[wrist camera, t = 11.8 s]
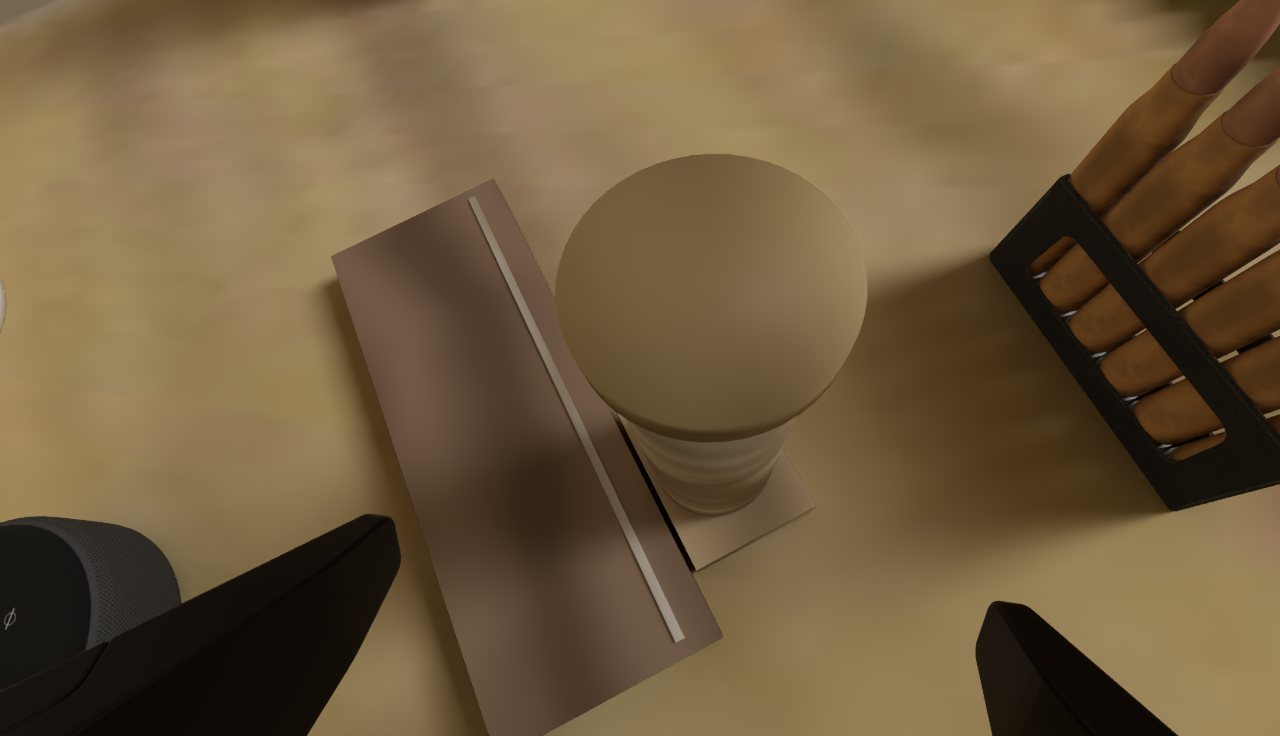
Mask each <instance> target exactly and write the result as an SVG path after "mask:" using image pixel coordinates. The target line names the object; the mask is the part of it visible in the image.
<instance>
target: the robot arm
mask: <svg viewBox="0 0 1280 736" xmlns="http://www.w3.org/2000/svg"><path fill="white" fill-rule="evenodd" d="M400 562H401V553H400V548H399V543H398V538H397V533H396V528H395V524H394V521H393V520H392V518H390V517H388V516H383V515H376V514H365V515H362V516H360V517H358V518H356V519H354V520H352V521H350V522H348V523H346V524H344V525H342V526H340V527H338V528H336V529H334V530H332V531H329V532H327V533H325V534H323V535H321V536H319V537H317V538H315V539H313V540H311V541H309V542H307V543H305V544H303V545H301V546H299V547H297V548H295V549H293V550H291V551H289V552H287V553H284V554H282V555H280V556H278V557H276V558H274V559H272V560H270V561H268V562H266V563H264V564H262V565H260V566H258V567H256V568H254V569H252V570H250V571H248V572H246V573H244V574H241V575H239V576H237V577H235V578H233V579H231V580H229V581H227V582H225V583H223V584H221V585H219V586H217V587H215V588H213V589H211V590H209V591H207V592H205V593H203V594H201V595H198V596H196V597H194V598H192V599H190V600H188V601H186V602H184V603H182V604H180V605H178V606H176V607H174V608H172V609H170V610H168V611H166V612H164V613H162V614H160V615H158V616H155V617H153V618H151V619H149V620H147V621H145V622H143V623H141V624H139V625H137V626H135V627H133V628H131V629H129V630H127V631H125V632H123V633H121V634H119V635H117V636H115V637H113V638H112V639H111V640H110V642H108V641H104V642H102V643H100V644H98V645H96V646H94V647H92V648H90V649H88V650H86V651H84V652H82V653H80V654H78V655H76V656H74V657H72V658H69V659H67V660H65V661H63V662H61V663H59V664H57V665H55V666H53V667H50V668H48V669H46V670H44V671H42V672H40V673H38V674H36V675H34V676H31V677H29V678H27V679H25V680H23V681H21V682H19V683H16V684H14V685H12V686H10V687H7V688H5V689H3V690H1V691H0V736H307V735H308V733H309V732H310V730H311V728H312V727H313V725H314V723H315V722H316V720H317V719H318V717H319V715H320V714H321V712H322V711H323V709H324V707H325V706H326V704H327V702H328V701H329V699H330V698H331V696H332V694H333V693H334V691H335V690H336V688H337V686H338V685H339V683H340V682H341V680H342V678H343V677H344V675H345V673H346V672H347V670H348V668H349V667H350V665H351V663H352V662H353V660H354V658H355V656H356V654H357V653H358V651H359V649H360V647H361V645H362V643H363V641H364V639H365V637H366V635H367V633H368V631H369V629H370V627H371V625H372V623H373V621H374V619H375V617H376V615H377V613H378V611H379V609H380V607H381V605H382V603H383V601H384V599H385V597H386V595H387V593H388V591H389V589H390V587H391V585H392V582H393V580H394V578H395V576H396V574H397V572H398V570H399V567H400ZM976 662H977V666H978V671H979V676H980V680H981V685H982V690H983V694H984V699H985V704H986V708H987V713H988V718H989V722H990V727H991V731H992V736H1178V735H1177V734H1176V733H1175V732H1173V731H1172V730H1171V729H1170V728H1169V727H1168V726H1166V725H1165V724H1164V723H1163V722H1162V721H1161V720H1159V719H1158V718H1157V717H1156V716H1155V715H1154V714H1153V713H1151V712H1150V711H1149V710H1148V709H1147V708H1146V707H1144V706H1143V705H1142V704H1141V703H1140V702H1139V701H1137V700H1136V699H1135V698H1134V697H1133V696H1132V695H1131V694H1129V693H1128V692H1127V691H1126V690H1125V689H1124V688H1122V687H1121V686H1120V685H1119V684H1118V683H1117V682H1115V681H1114V680H1113V679H1112V678H1111V677H1110V676H1109V675H1107V674H1106V673H1105V672H1104V671H1103V670H1102V669H1100V668H1099V667H1098V666H1097V665H1096V664H1095V663H1093V662H1092V661H1091V660H1090V659H1089V658H1088V657H1087V656H1085V655H1084V654H1083V653H1082V652H1081V651H1080V650H1078V649H1077V648H1076V647H1075V646H1074V645H1073V644H1071V643H1070V642H1069V641H1068V640H1067V639H1066V638H1065V637H1063V636H1062V635H1061V634H1060V633H1059V632H1058V631H1056V630H1055V629H1054V628H1053V627H1052V626H1051V625H1049V624H1048V623H1047V622H1046V621H1045V620H1044V619H1042V618H1041V617H1040V616H1039V615H1038V614H1037V613H1036V612H1034V611H1033V610H1032V609H1031V608H1029V607H1028V606H1026V605H1023V604H1018V603H1011V602H1003V601H994V602H992V603H991V604H990V606H989V608H988V610H987V613H986V616H985V619H984V622H983V624H982V627H981V630H980V633H979V636H978V639H977V642H976Z"/></svg>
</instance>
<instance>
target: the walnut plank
mask: <svg viewBox="0 0 1280 736" xmlns="http://www.w3.org/2000/svg"><path fill="white" fill-rule="evenodd" d="M331 258H332V261H333V264H334V267H335V270H336V273H337V276H338V279H339V282H340V285H341V288H342V291H343V294H344V298H345V301H346V304H347V307H348V310H349V313H350V316H351V319H352V322H353V325H354V328H355V331H356V334H357V337H358V340H359V343H360V346H361V349H362V352H363V355H364V358H365V361H366V364H367V367H368V370H369V373H370V376H371V379H372V382H373V385H374V388H375V391H376V395H377V398H378V401H379V404H380V407H381V410H382V413H383V416H384V419H385V422H386V425H387V428H388V431H389V434H390V437H391V440H392V443H393V446H394V449H395V452H396V455H397V458H398V461H399V464H400V467H401V470H402V473H403V476H404V479H405V482H406V485H407V489H408V492H409V495H410V498H411V501H412V504H413V507H414V510H415V513H416V516H417V519H418V522H419V525H420V528H421V531H422V534H423V537H424V540H425V543H426V546H427V549H428V552H429V555H430V558H431V561H432V564H433V567H434V570H435V573H436V576H437V579H438V583H439V586H440V589H441V592H442V595H443V598H444V601H445V604H446V607H447V610H448V613H449V616H450V619H451V622H452V625H453V628H454V631H455V634H456V637H457V640H458V643H459V646H460V649H461V652H462V655H463V658H464V661H465V664H466V667H467V670H468V673H469V676H470V680H471V683H472V686H473V689H474V692H475V695H476V698H477V701H478V704H479V707H480V710H481V713H482V716H483V719H484V722H485V725H486V728H487V731H488V734H489V736H543V735H544V734H546V733H548V732H550V731H552V730H554V729H555V728H557V727H559V726H561V725H563V724H565V723H566V722H568V721H570V720H572V719H574V718H576V717H578V716H579V715H581V714H583V713H585V712H587V711H589V710H590V709H592V708H594V707H596V706H598V705H600V704H601V703H603V702H605V701H607V700H609V699H611V698H612V697H614V696H616V695H618V694H620V693H622V692H623V691H625V690H627V689H629V688H631V687H633V686H635V685H636V684H638V683H640V682H642V681H644V680H646V679H647V678H649V677H651V676H653V675H655V674H657V673H658V672H660V671H662V670H664V669H666V668H668V667H669V666H671V665H673V664H675V663H677V662H679V661H680V660H682V659H684V658H686V657H688V656H690V655H692V654H693V653H695V652H697V651H699V650H701V649H703V648H704V647H706V646H708V645H710V644H712V643H714V642H715V641H717V640H719V639H721V638H723V635H722V632H721V630H720V628H719V626H718V624H717V622H716V620H715V618H714V616H713V614H712V612H711V610H710V608H709V606H708V604H707V602H706V600H705V598H704V596H703V594H702V592H701V590H700V588H699V586H698V584H697V582H696V580H695V578H694V576H693V574H692V572H691V570H690V568H689V566H688V564H687V562H686V560H685V558H684V556H683V554H682V552H681V550H680V548H679V546H678V544H677V542H676V540H675V538H674V536H673V534H672V532H671V530H670V528H669V526H668V524H667V522H666V520H665V518H664V516H663V514H662V512H661V510H660V508H659V506H658V504H657V502H656V500H655V498H654V496H653V494H652V492H651V490H650V488H649V486H648V484H647V482H646V480H645V478H644V476H643V474H642V472H641V470H640V468H639V466H638V464H637V462H636V460H635V458H634V456H633V454H632V452H631V450H630V448H629V446H628V444H627V442H626V440H625V438H624V436H623V434H622V432H621V430H620V428H619V426H618V424H617V422H616V420H615V418H614V416H613V414H612V412H611V410H610V408H609V406H608V404H607V403H605V402H604V401H603V400H602V399H601V398H600V397H599V396H598V394H597V393H596V392H595V391H594V389H593V388H592V387H591V386H590V384H589V383H588V381H587V380H586V378H585V376H584V375H583V373H582V371H581V370H580V368H579V366H578V365H577V363H576V361H575V360H574V358H573V356H572V355H571V353H570V351H569V349H568V347H567V345H566V342H565V340H564V337H563V335H562V333H561V329H560V325H559V321H558V317H557V310H556V300H555V298H554V296H553V294H552V292H551V290H550V288H549V286H548V284H547V282H546V280H545V278H544V276H543V274H542V272H541V270H540V268H539V266H538V264H537V262H536V260H535V258H534V256H533V254H532V252H531V250H530V248H529V246H528V244H527V242H526V240H525V238H524V236H523V234H522V232H521V230H520V228H519V226H518V224H517V222H516V220H515V218H514V216H513V214H512V212H511V210H510V208H509V206H508V204H507V202H506V200H505V199H504V197H503V195H502V193H501V191H500V189H499V187H498V185H497V184H496V182H495V180H494V179H491V180H489V181H487V182H485V183H483V184H481V185H479V186H477V187H475V188H473V189H471V190H469V191H466V192H464V193H462V194H460V195H458V196H456V197H454V198H452V199H450V200H448V201H446V202H443V203H441V204H439V205H437V206H435V207H433V208H431V209H429V210H427V211H425V212H423V213H420V214H418V215H416V216H414V217H412V218H410V219H408V220H406V221H404V222H402V223H400V224H398V225H395V226H393V227H391V228H389V229H387V230H385V231H383V232H381V233H379V234H377V235H375V236H372V237H370V238H368V239H366V240H364V241H362V242H360V243H358V244H356V245H354V246H352V247H349V248H347V249H345V250H343V251H341V252H339V253H337V254H335V255H333V256H331Z"/></svg>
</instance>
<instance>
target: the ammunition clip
mask: <svg viewBox="0 0 1280 736" xmlns="http://www.w3.org/2000/svg"><path fill="white" fill-rule="evenodd" d="M1279 24H1280V0H1240V1H1239V2H1238V3H1237V4H1235V5H1234V6H1233V7H1232V8H1231V9H1230V10H1229V11H1227V12H1226V13H1225V14H1224V15H1223V16H1222V17H1221V18H1220V19H1219V20H1218V21H1217V22H1216V23H1214V24H1213V25H1212V26H1211V27H1210V28H1209V29H1208V30H1207V31H1206V32H1205V33H1204V34H1203V35H1202V36H1201V37H1200V38H1199V39H1198V40H1197V41H1196V43H1195V44H1194V45H1193V46H1192V47H1191V48H1190V49H1189V50H1188V51H1187V53H1186V54H1185V55H1184V56H1183V57H1182V58H1181V59H1180V60H1179V62H1177V63H1176V64H1174V65H1173V66H1172V67H1171V68H1170V69H1169V70H1168V72H1167V73H1166V74H1165V75H1164V76H1163V77H1162V78H1161V79H1160V80H1159V81H1158V82H1157V83H1156V84H1155V85H1154V86H1153V87H1152V88H1151V89H1150V90H1149V91H1147V92H1146V93H1145V94H1144V95H1142V96H1141V97H1140V98H1139V99H1137V100H1136V101H1135V102H1134V103H1133V104H1131V105H1130V106H1129V107H1128V108H1127V109H1126V110H1125V111H1124V113H1123V114H1122V115H1121V116H1120V117H1119V118H1118V120H1117V121H1116V122H1115V123H1114V124H1113V125H1112V127H1111V128H1110V129H1109V130H1108V131H1107V132H1106V134H1105V135H1104V136H1103V137H1102V138H1101V139H1100V141H1099V142H1098V143H1097V144H1096V145H1095V146H1094V148H1093V149H1092V150H1091V151H1090V152H1089V154H1088V155H1087V156H1086V157H1085V158H1084V159H1083V161H1082V162H1081V163H1080V164H1079V165H1078V166H1077V168H1076V169H1075V170H1074V171H1073V172H1072V173H1071V175H1070V174H1067V175H1064V176H1062V177H1060V178H1059V179H1058V180H1057V181H1056V182H1055V184H1054V185H1053V186H1052V187H1051V188H1050V189H1049V190H1048V191H1047V192H1046V193H1045V195H1044V196H1043V197H1042V198H1041V199H1040V200H1039V201H1038V202H1037V203H1036V204H1035V205H1034V206H1033V208H1032V209H1031V210H1030V211H1029V212H1028V213H1027V214H1026V215H1025V216H1024V217H1023V218H1022V219H1021V221H1020V222H1019V223H1018V224H1017V225H1016V226H1015V227H1014V228H1013V229H1012V230H1011V231H1010V232H1009V233H1008V235H1007V236H1006V237H1005V238H1004V239H1003V240H1002V241H1001V242H1000V243H999V244H998V245H997V246H996V248H995V249H994V250H993V251H992V252H991V253H990V261H991V262H992V264H993V265H994V266H995V268H996V269H997V270H998V272H999V273H1000V275H1001V276H1002V277H1003V279H1004V280H1005V282H1006V283H1007V284H1008V286H1009V287H1010V289H1011V290H1012V291H1013V293H1014V294H1015V296H1016V297H1017V298H1018V300H1019V301H1020V302H1021V304H1022V305H1023V307H1024V308H1025V309H1026V311H1027V312H1028V314H1029V315H1030V316H1031V318H1032V319H1033V321H1034V322H1035V323H1036V325H1037V326H1038V328H1039V329H1040V330H1041V332H1042V333H1043V334H1044V336H1045V337H1046V339H1047V340H1048V341H1049V343H1050V344H1051V346H1052V347H1053V348H1054V350H1055V351H1056V353H1057V354H1058V355H1059V357H1060V358H1061V360H1062V361H1063V362H1064V364H1065V365H1066V366H1067V368H1068V369H1069V371H1070V372H1071V373H1072V375H1073V376H1074V378H1075V379H1076V380H1077V382H1078V383H1079V385H1080V386H1081V387H1082V389H1083V390H1084V391H1085V393H1086V394H1087V396H1088V397H1089V398H1090V400H1091V401H1092V403H1093V404H1094V405H1095V407H1096V408H1097V410H1098V411H1099V412H1100V414H1101V415H1102V417H1103V418H1104V419H1105V421H1106V422H1107V423H1108V425H1109V426H1110V428H1111V429H1112V430H1113V432H1114V433H1115V435H1116V436H1117V437H1118V439H1119V440H1120V442H1121V443H1122V444H1123V446H1124V447H1125V449H1126V450H1127V451H1128V453H1129V454H1130V455H1131V457H1132V458H1133V460H1134V461H1135V462H1136V464H1137V465H1138V467H1139V468H1140V469H1141V471H1142V472H1143V474H1144V475H1145V476H1146V478H1147V479H1148V481H1149V482H1150V483H1151V485H1152V486H1153V487H1154V489H1155V490H1156V492H1157V493H1158V494H1159V496H1160V497H1161V499H1162V500H1163V501H1164V503H1165V504H1166V506H1167V507H1168V508H1169V510H1173V511H1179V510H1183V509H1186V508H1190V507H1194V506H1198V505H1202V504H1206V503H1209V502H1213V501H1217V500H1221V499H1225V498H1229V497H1232V496H1236V495H1240V494H1244V493H1248V492H1252V491H1255V490H1259V489H1263V488H1267V487H1271V486H1274V485H1278V484H1280V415H1276V416H1273V417H1270V418H1267V419H1266V417H1265V416H1264V414H1267V413H1270V412H1273V411H1276V410H1279V409H1280V336H1278V337H1276V338H1275V337H1274V336H1273V335H1272V334H1271V333H1273V332H1275V331H1277V330H1279V329H1280V250H1279V251H1277V252H1275V253H1273V254H1271V255H1270V256H1268V257H1266V258H1265V259H1263V260H1261V261H1260V262H1258V263H1256V264H1255V265H1253V266H1251V267H1250V268H1248V269H1246V270H1245V271H1243V272H1241V273H1240V274H1238V275H1237V276H1235V277H1233V278H1232V279H1230V280H1228V281H1227V282H1225V281H1224V280H1223V279H1224V278H1226V277H1227V276H1229V275H1230V274H1232V273H1233V272H1235V271H1237V270H1238V269H1240V268H1241V267H1243V266H1244V265H1246V264H1248V263H1249V262H1251V261H1252V260H1254V259H1256V258H1257V257H1259V256H1260V255H1262V254H1263V253H1265V252H1267V251H1268V250H1270V249H1271V248H1273V247H1274V246H1276V245H1277V244H1279V243H1280V165H1279V166H1277V167H1276V168H1274V169H1273V170H1272V171H1270V172H1269V173H1267V174H1266V175H1264V176H1263V177H1262V178H1260V179H1259V180H1257V181H1256V182H1254V183H1252V184H1250V185H1248V186H1246V187H1244V188H1242V189H1240V190H1238V191H1236V192H1235V193H1233V194H1231V195H1229V196H1227V197H1226V198H1224V199H1223V200H1221V201H1220V202H1218V203H1217V204H1215V205H1214V206H1212V207H1211V208H1210V209H1209V210H1207V211H1206V212H1205V213H1203V214H1202V215H1201V216H1199V217H1198V218H1197V219H1196V220H1194V221H1193V222H1192V223H1190V224H1189V225H1188V226H1187V227H1185V228H1184V229H1183V230H1181V231H1179V230H1180V229H1181V228H1182V227H1184V226H1185V225H1186V224H1187V223H1189V222H1190V221H1191V220H1192V219H1194V218H1195V217H1196V216H1197V215H1199V214H1200V213H1201V212H1202V211H1204V210H1205V209H1206V208H1207V207H1209V206H1210V205H1211V204H1212V203H1214V202H1215V201H1216V200H1217V199H1219V198H1220V197H1221V196H1222V195H1224V194H1225V193H1226V192H1227V191H1228V190H1229V189H1231V188H1232V187H1233V186H1234V185H1235V183H1236V182H1237V181H1238V180H1239V179H1240V178H1241V176H1242V175H1243V174H1244V173H1245V171H1246V170H1247V169H1248V168H1249V167H1250V165H1251V164H1252V163H1253V162H1254V161H1255V160H1257V159H1258V158H1259V157H1260V156H1261V155H1262V154H1263V153H1265V152H1266V151H1267V150H1268V149H1269V148H1270V147H1271V146H1273V145H1274V144H1275V143H1276V142H1277V141H1278V139H1279V138H1280V67H1279V68H1278V69H1276V70H1275V71H1274V72H1272V73H1271V74H1270V75H1269V76H1267V77H1266V78H1265V79H1263V80H1262V81H1261V82H1260V83H1258V84H1257V85H1256V86H1255V87H1254V88H1252V89H1251V90H1250V91H1249V92H1248V93H1247V94H1246V95H1245V96H1244V97H1242V98H1241V99H1240V100H1239V101H1238V102H1237V103H1236V104H1235V105H1234V106H1233V107H1232V108H1231V109H1229V110H1228V111H1226V112H1224V113H1223V114H1222V115H1221V116H1220V117H1218V118H1217V119H1216V120H1215V121H1214V122H1213V123H1212V124H1210V125H1209V126H1208V127H1207V128H1206V129H1205V130H1204V131H1202V132H1201V133H1200V134H1199V135H1197V136H1196V137H1194V138H1193V139H1191V140H1190V141H1188V142H1187V143H1185V144H1183V145H1182V146H1180V147H1179V148H1177V149H1176V150H1175V151H1173V150H1174V149H1175V148H1176V147H1177V146H1178V145H1179V144H1180V143H1181V142H1182V141H1183V140H1184V139H1185V138H1186V137H1187V135H1188V134H1189V132H1190V131H1191V129H1192V128H1193V126H1194V125H1195V123H1196V122H1197V120H1198V119H1199V117H1200V116H1201V114H1202V113H1203V112H1204V111H1205V110H1206V109H1207V108H1208V107H1209V106H1210V104H1211V103H1212V102H1213V101H1214V100H1215V99H1216V98H1217V97H1218V96H1219V95H1220V94H1221V93H1222V91H1223V90H1224V89H1225V87H1226V86H1227V84H1228V83H1229V82H1230V81H1231V80H1232V79H1233V78H1234V77H1235V76H1236V75H1237V74H1238V73H1239V72H1240V71H1241V70H1242V69H1243V68H1244V67H1245V66H1246V65H1247V64H1248V63H1249V61H1250V60H1251V59H1252V58H1253V57H1254V56H1255V54H1256V53H1257V52H1258V51H1259V50H1260V48H1261V47H1262V46H1263V45H1264V43H1265V42H1266V41H1267V40H1268V39H1269V37H1270V36H1271V35H1272V33H1273V32H1274V31H1275V29H1276V28H1277V27H1278V25H1279ZM1172 151H1173V152H1172ZM1171 152H1172V153H1171ZM1170 153H1171V154H1170ZM1169 154H1170V155H1169ZM1151 252H1153V253H1152V254H1150V253H1151ZM1149 254H1150V255H1149ZM1147 255H1149V256H1148V257H1146V256H1147ZM1145 257H1146V258H1145ZM1143 258H1145V259H1144V260H1143V261H1141V260H1142V259H1143ZM1140 261H1141V262H1140ZM1138 262H1140V263H1139V264H1137V263H1138ZM1108 286H1109V287H1108ZM1107 287H1108V288H1107ZM1103 290H1104V291H1103ZM1102 291H1103V292H1102ZM1191 299H1193V300H1194V302H1192V303H1190V304H1189V305H1187V306H1185V307H1184V308H1182V309H1180V310H1179V311H1176V310H1175V309H1176V308H1178V307H1180V306H1181V305H1183V304H1184V303H1186V302H1188V301H1189V300H1191ZM1145 328H1146V329H1147V330H1146V331H1144V332H1142V333H1141V334H1139V335H1137V336H1135V334H1137V333H1139V332H1140V331H1142V330H1143V329H1145ZM1235 350H1237V352H1238V353H1239V355H1236V356H1234V357H1232V358H1230V359H1228V360H1225V361H1223V362H1221V363H1220V362H1219V361H1218V360H1217V359H1219V358H1221V357H1223V356H1225V355H1227V354H1229V353H1231V352H1233V351H1235ZM1183 375H1184V376H1185V377H1186V379H1183V380H1181V381H1179V382H1177V383H1175V384H1173V383H1172V381H1173V380H1175V379H1177V378H1179V377H1181V376H1183ZM1222 428H1224V429H1225V432H1222V433H1219V434H1216V435H1214V434H1213V433H1212V432H1213V431H1216V430H1219V429H1222Z"/></svg>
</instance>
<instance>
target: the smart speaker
mask: <svg viewBox="0 0 1280 736" xmlns="http://www.w3.org/2000/svg"><path fill="white" fill-rule="evenodd" d="M180 604H181V599H180V591H179V587H178V583H177V580H176V577H175V574H174V571H173V569H172V567H171V565H170V563H169V561H168V559H167V558H166V557H165V555H164V554H163V552H162V551H161V550H160V549H159V548H158V547H157V546H156V545H155V544H154V543H153V542H152V541H151V540H149V539H148V538H147V537H146V536H144V535H142V534H141V533H139V532H137V531H135V530H132V529H130V528H127V527H123V526H120V525H115V524H109V523H103V522H94V521H86V520H77V519H69V518H60V517H46V516H37V517H24V518H17V519H13V520H9V521H5V522H1V523H0V691H1V690H3V689H5V688H7V687H10V686H12V685H14V684H16V683H19V682H21V681H23V680H25V679H27V678H29V677H31V676H34V675H36V674H38V673H40V672H42V671H44V670H46V669H48V668H50V667H53V666H55V665H57V664H59V663H61V662H63V661H65V660H67V659H69V658H72V657H74V656H76V655H78V654H80V653H82V652H84V651H86V650H88V649H90V648H92V647H94V646H96V645H98V644H100V643H102V642H104V641H108V642H110V640H111V639H112V638H113V637H115V636H117V635H119V634H121V633H123V632H125V631H127V630H129V629H131V628H133V627H135V626H137V625H139V624H141V623H143V622H145V621H147V620H149V619H151V618H153V617H155V616H158V615H160V614H162V613H164V612H166V611H168V610H170V609H172V608H174V607H176V606H178V605H180Z"/></svg>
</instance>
